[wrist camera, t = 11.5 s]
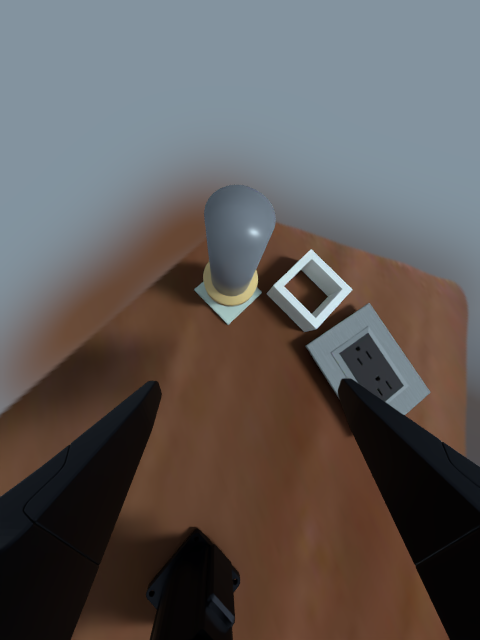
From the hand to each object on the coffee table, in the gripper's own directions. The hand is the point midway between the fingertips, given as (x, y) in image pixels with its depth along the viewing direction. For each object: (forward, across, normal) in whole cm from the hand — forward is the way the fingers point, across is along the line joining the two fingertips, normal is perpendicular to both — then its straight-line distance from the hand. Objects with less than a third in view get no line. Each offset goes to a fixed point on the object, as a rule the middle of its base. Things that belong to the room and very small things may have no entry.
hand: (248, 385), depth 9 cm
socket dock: (+17, -8, +2) cm, 19 cm away
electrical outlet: (+12, -15, +10) cm, 22 cm away
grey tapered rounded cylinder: (+16, +2, 0) cm, 16 cm away
